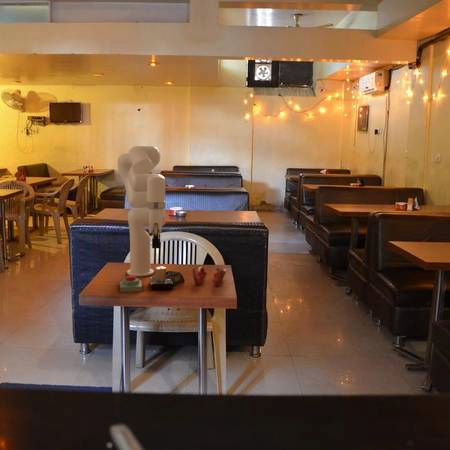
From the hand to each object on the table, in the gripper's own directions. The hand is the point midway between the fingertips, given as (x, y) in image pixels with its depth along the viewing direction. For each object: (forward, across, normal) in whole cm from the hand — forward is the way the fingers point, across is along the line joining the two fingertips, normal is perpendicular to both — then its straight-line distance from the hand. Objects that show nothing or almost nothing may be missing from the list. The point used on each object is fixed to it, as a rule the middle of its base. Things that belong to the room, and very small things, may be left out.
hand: (156, 245), depth 217 cm
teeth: (+20, -9, +24) cm, 32 cm away
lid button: (+16, -2, -11) cm, 19 cm away
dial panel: (+19, -4, +2) cm, 20 cm away
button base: (+19, -2, -11) cm, 22 cm away
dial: (+16, -4, +2) cm, 17 cm away
